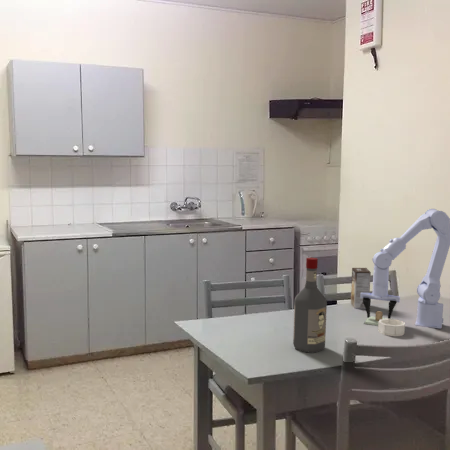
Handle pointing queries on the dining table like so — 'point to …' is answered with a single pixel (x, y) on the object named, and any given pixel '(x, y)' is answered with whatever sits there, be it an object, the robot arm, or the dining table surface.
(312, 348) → the liquor
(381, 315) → the lid
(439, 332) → the dining table surface
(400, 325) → the bowl
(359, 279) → the coffee box
